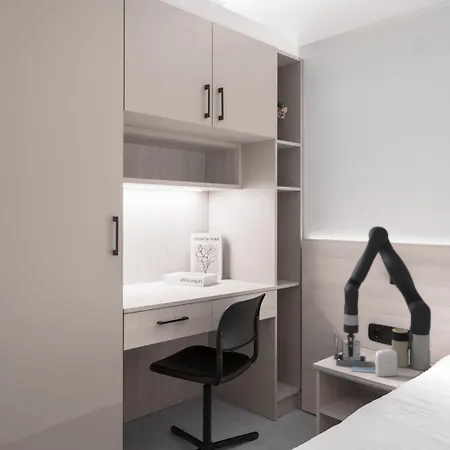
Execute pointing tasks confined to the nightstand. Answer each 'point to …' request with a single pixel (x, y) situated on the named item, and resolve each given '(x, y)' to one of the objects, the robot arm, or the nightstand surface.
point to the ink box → (355, 351)
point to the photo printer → (386, 363)
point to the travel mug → (401, 346)
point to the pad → (363, 369)
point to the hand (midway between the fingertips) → (350, 354)
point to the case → (346, 362)
